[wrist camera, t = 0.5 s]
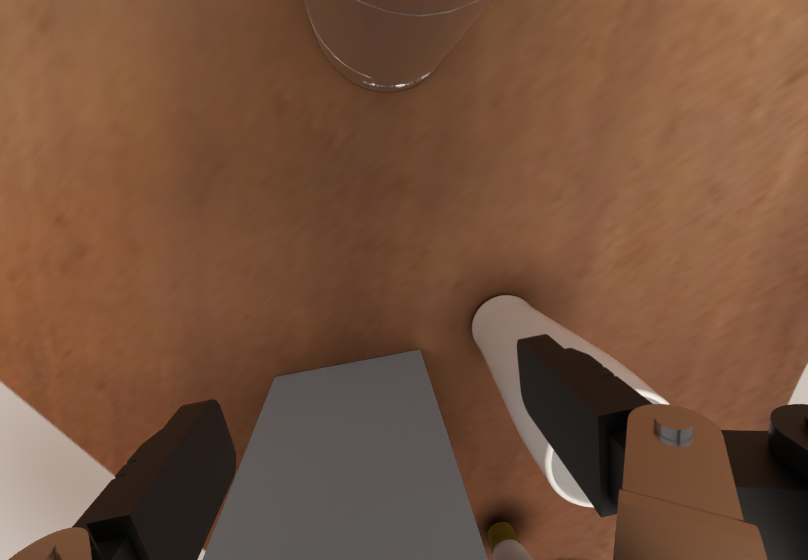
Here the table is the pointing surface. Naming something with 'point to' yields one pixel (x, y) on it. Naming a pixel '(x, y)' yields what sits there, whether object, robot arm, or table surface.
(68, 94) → the table surface
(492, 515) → the table surface
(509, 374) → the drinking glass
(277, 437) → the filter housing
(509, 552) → the light bulb
